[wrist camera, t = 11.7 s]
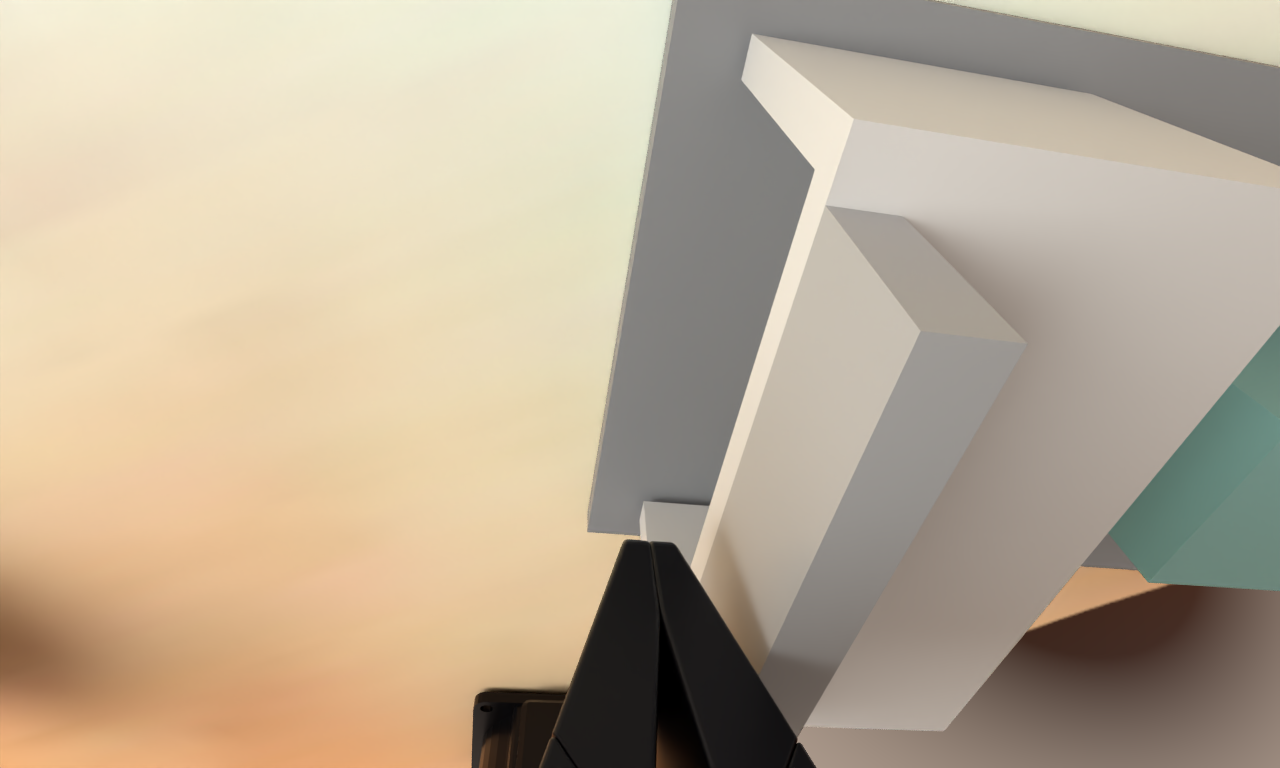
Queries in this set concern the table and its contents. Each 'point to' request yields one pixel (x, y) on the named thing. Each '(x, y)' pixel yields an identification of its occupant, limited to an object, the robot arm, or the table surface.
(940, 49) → the base plate
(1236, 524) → the block
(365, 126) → the table surface
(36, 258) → the table surface
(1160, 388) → the cover
